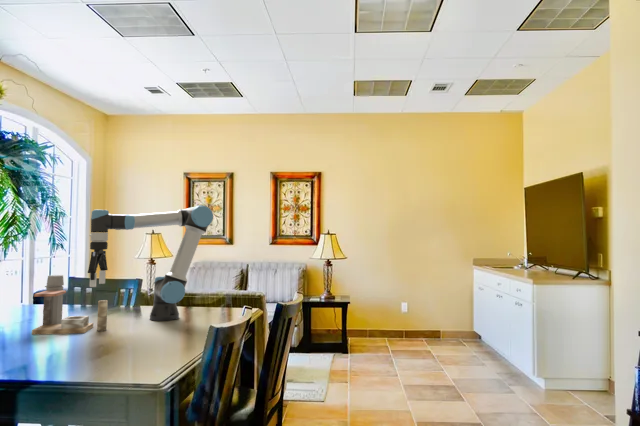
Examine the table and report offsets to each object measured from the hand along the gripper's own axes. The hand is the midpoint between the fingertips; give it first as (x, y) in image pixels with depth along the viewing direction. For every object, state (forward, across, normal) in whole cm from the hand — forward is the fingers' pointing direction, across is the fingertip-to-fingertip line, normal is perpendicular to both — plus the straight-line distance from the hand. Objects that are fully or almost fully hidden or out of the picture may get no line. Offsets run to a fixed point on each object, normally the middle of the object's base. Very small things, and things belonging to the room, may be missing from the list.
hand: (97, 285), depth 208 cm
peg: (+21, +2, +3) cm, 21 cm away
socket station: (+21, +1, -14) cm, 25 cm away
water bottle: (+21, -10, -24) cm, 33 cm away
